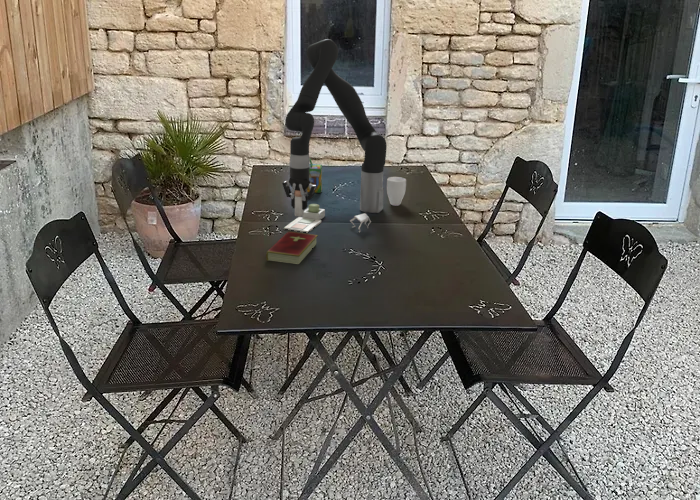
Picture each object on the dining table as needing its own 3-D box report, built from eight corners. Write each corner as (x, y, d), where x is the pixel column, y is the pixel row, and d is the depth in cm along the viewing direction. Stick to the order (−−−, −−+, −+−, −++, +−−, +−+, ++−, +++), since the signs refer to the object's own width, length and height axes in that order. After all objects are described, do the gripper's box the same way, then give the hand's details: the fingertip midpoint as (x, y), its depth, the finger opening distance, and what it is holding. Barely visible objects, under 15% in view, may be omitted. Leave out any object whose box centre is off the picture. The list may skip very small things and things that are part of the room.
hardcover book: (266, 261, 231) (266, 250, 229) (287, 241, 250) (287, 230, 248) (299, 266, 228) (299, 254, 227) (317, 245, 247) (317, 234, 246)
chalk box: (321, 193, 307) (321, 161, 301) (301, 192, 307) (301, 161, 301) (322, 187, 315) (322, 157, 310) (302, 187, 315) (303, 156, 310)
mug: (404, 207, 291) (406, 182, 287) (385, 206, 291) (387, 181, 287) (404, 199, 302) (406, 174, 298) (386, 198, 303) (387, 174, 298)
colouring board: (321, 222, 270) (321, 219, 269) (307, 233, 257) (307, 230, 257) (298, 218, 273) (298, 216, 272) (284, 229, 260) (284, 227, 260)
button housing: (324, 216, 277) (324, 209, 275) (318, 221, 270) (318, 214, 269) (309, 213, 279) (309, 207, 278) (302, 218, 273) (302, 211, 271)
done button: (320, 211, 275) (320, 204, 274) (316, 214, 271) (316, 207, 270) (311, 210, 276) (311, 203, 275) (306, 213, 272) (306, 206, 271)
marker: (305, 214, 261) (306, 189, 257) (301, 217, 258) (301, 191, 254) (296, 212, 262) (296, 187, 258) (292, 215, 259) (292, 190, 255)
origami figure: (348, 224, 269) (349, 212, 267) (369, 224, 270) (369, 212, 268) (351, 234, 258) (351, 222, 256) (372, 234, 259) (373, 222, 257)
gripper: (320, 165, 254) (319, 208, 260) (286, 161, 258) (286, 203, 264) (312, 169, 247) (312, 214, 253) (278, 165, 251) (278, 208, 258)
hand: (299, 208), depth 259 cm, fingers closed on marker, 3 cm apart
